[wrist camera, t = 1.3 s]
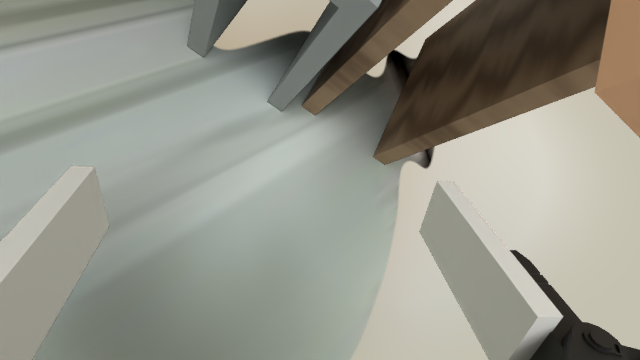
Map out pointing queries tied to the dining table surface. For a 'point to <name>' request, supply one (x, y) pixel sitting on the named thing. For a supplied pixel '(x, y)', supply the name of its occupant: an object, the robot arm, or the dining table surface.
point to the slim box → (622, 62)
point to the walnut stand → (471, 65)
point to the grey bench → (320, 46)
